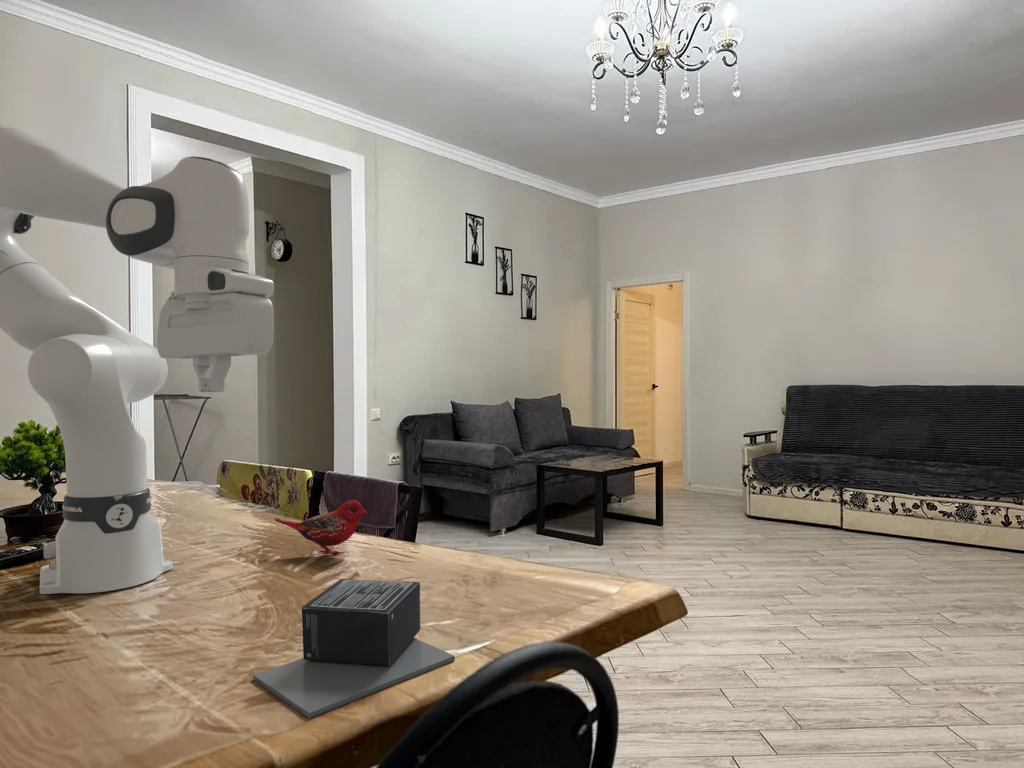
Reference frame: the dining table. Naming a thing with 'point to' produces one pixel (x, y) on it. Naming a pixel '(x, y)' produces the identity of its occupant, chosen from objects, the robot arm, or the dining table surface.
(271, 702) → the dining table surface
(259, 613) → the dining table surface
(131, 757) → the dining table surface
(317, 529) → the decorative bird figurine
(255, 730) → the dining table surface
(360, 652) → the small box
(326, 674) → the slate tile
